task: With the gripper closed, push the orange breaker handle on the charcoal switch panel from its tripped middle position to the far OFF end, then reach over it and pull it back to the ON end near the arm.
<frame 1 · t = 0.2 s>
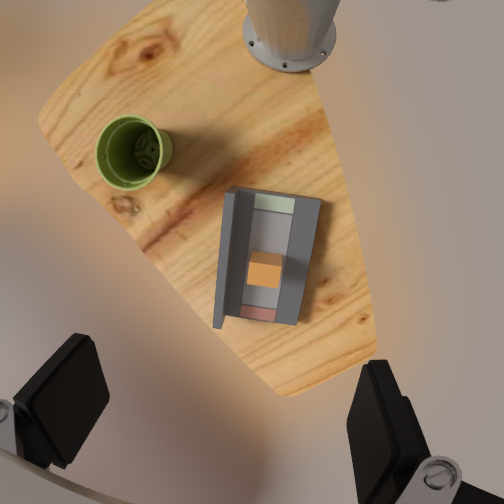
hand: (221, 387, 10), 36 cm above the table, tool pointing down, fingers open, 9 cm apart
switch panel: (266, 256, 46), on the table
breaker handle: (264, 268, 42), point 5 cm above the table, slide at 0.0 cm
plant pot: (154, 150, 43), on the table
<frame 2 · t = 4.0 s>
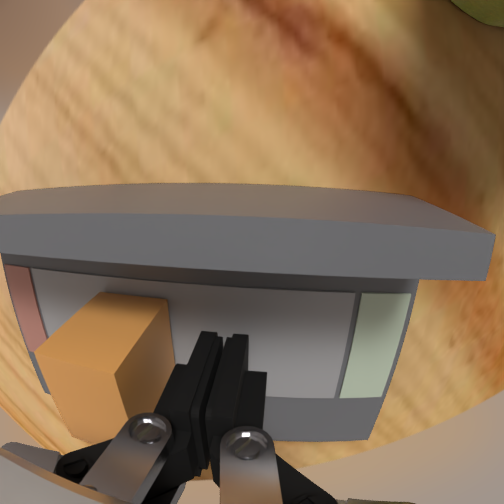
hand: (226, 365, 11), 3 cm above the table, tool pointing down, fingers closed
switch panel: (184, 315, 14), on the table
breaker handle: (115, 370, 10), point 5 cm above the table, slide at 1.3 cm, touching gripper
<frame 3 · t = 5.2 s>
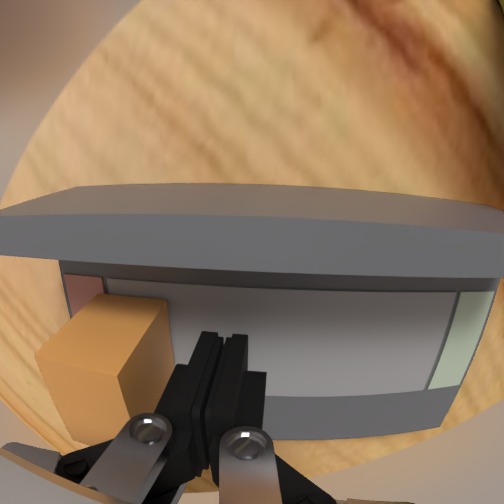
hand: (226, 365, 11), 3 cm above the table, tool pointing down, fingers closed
switch panel: (282, 322, 14), on the table
breaker handle: (116, 372, 10), point 5 cm above the table, slide at 5.9 cm, touching gripper
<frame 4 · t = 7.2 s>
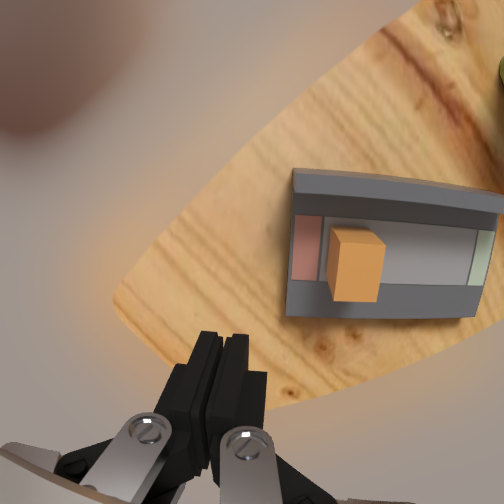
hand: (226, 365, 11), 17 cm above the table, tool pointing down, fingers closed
switch panel: (397, 246, 26), on the table
breaker handle: (353, 261, 22), point 5 cm above the table, slide at 5.0 cm
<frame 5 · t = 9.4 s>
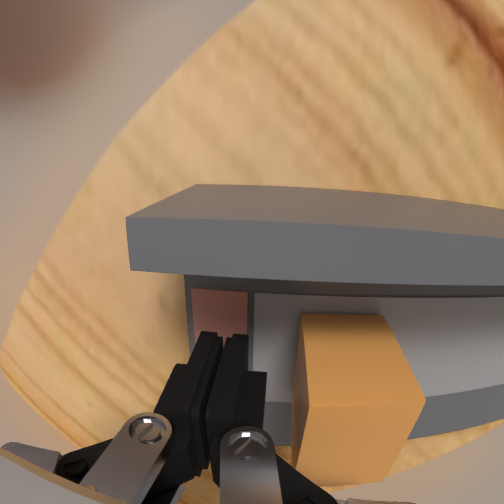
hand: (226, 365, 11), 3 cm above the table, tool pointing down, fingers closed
switch panel: (407, 328, 13), on the table
breaker handle: (343, 400, 9), point 5 cm above the table, slide at 3.8 cm, touching gripper
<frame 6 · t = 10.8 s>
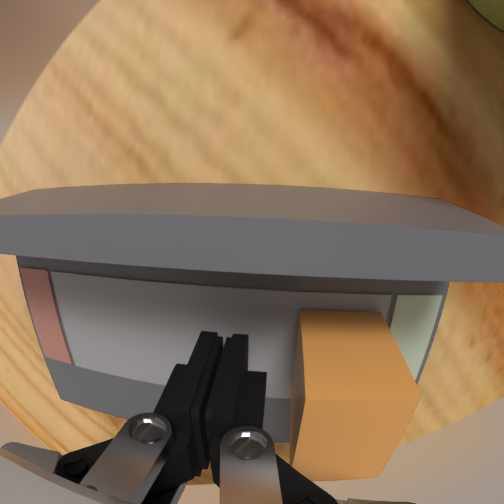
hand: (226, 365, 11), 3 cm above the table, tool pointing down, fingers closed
switch panel: (213, 318, 14), on the table
breaker handle: (341, 395, 9), point 5 cm above the table, slide at -5.1 cm, touching gripper
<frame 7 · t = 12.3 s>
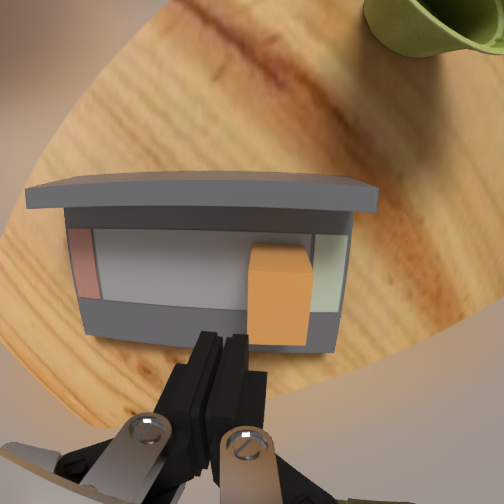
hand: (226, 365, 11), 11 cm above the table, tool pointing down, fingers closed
switch panel: (201, 259, 22), on the table
breaker handle: (277, 291, 17), point 5 cm above the table, slide at -5.0 cm
plant pot: (400, 21, 16), on the table
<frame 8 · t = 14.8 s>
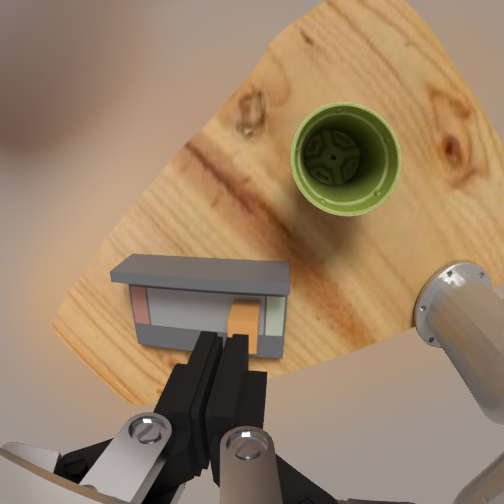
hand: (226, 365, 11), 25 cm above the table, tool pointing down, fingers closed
switch panel: (207, 304, 39), on the table
breaker handle: (244, 326, 34), point 5 cm above the table, slide at -5.0 cm
plant pot: (331, 156, 32), on the table
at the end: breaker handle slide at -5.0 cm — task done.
